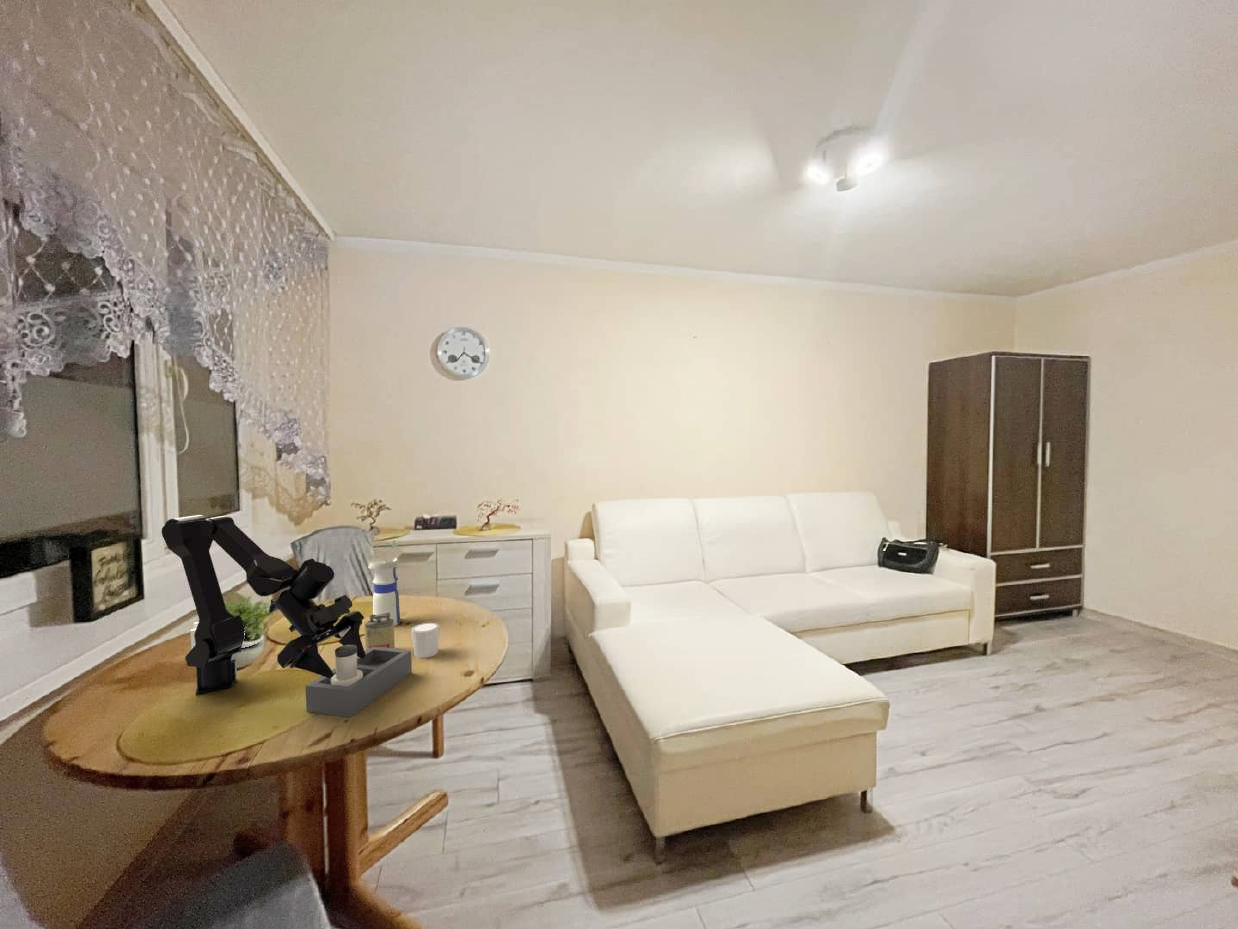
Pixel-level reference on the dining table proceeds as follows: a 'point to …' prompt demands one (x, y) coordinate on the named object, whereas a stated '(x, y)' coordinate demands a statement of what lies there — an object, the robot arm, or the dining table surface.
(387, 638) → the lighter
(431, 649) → the shot glass
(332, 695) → the compartment tray
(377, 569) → the white spray bottle
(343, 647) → the plug
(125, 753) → the dining table surface
